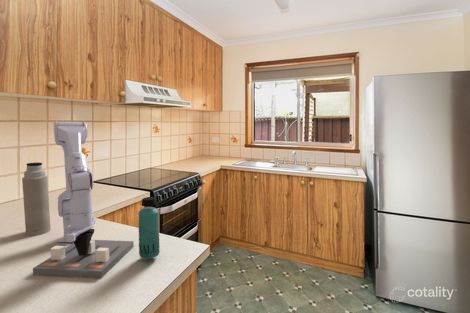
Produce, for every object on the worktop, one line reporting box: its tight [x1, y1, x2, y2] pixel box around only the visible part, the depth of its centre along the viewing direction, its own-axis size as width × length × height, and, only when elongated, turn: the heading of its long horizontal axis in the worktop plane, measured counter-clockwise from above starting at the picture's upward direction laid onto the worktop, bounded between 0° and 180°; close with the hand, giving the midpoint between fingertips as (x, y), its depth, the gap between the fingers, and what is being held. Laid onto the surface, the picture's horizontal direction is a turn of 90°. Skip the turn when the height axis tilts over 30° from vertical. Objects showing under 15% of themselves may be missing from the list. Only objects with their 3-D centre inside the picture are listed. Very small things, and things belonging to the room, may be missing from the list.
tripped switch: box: [88, 239, 96, 254], centre depth 83 cm, size 2×3×4 cm, turn 86°
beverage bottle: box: [137, 196, 160, 260], centre depth 83 cm, size 6×7×20 cm
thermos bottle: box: [21, 161, 52, 236], centre depth 104 cm, size 8×8×28 cm
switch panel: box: [32, 239, 135, 279], centre depth 83 cm, size 20×20×6 cm
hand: (83, 254), depth 81 cm, fingers closed
